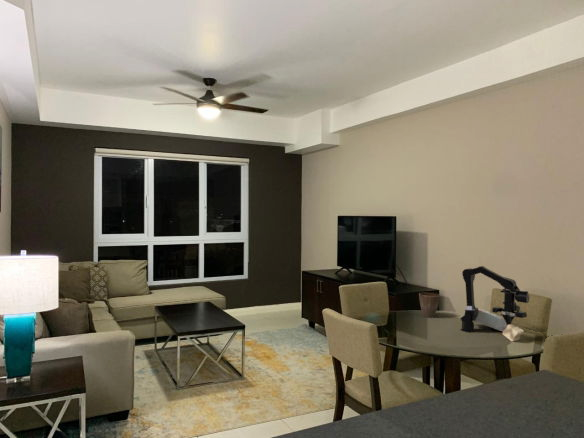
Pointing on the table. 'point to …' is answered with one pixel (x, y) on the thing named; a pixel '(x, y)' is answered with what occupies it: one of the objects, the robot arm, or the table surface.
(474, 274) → the robot arm
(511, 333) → the birch block
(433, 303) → the plant pot
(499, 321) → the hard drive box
